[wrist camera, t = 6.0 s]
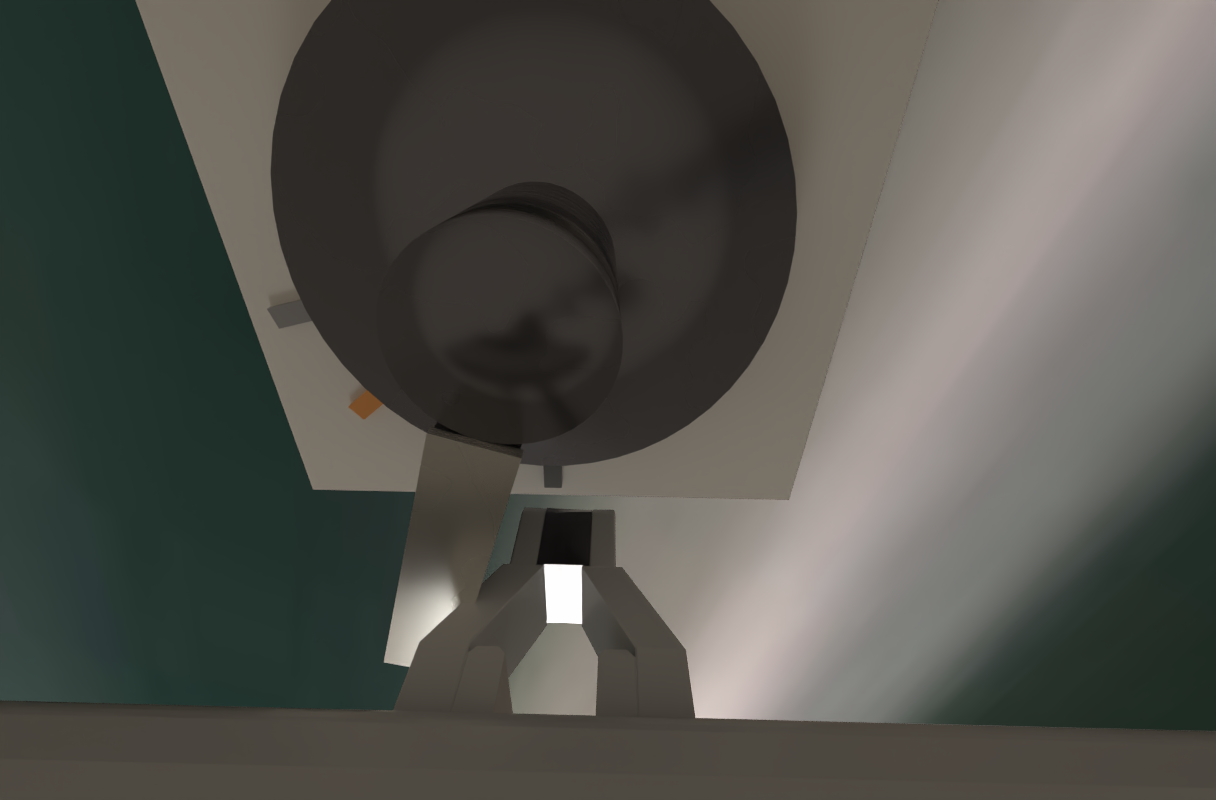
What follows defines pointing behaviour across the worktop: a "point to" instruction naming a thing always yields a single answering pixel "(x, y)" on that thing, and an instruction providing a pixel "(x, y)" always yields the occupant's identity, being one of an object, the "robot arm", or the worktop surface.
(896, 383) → the worktop surface
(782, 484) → the dial base
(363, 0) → the dial
